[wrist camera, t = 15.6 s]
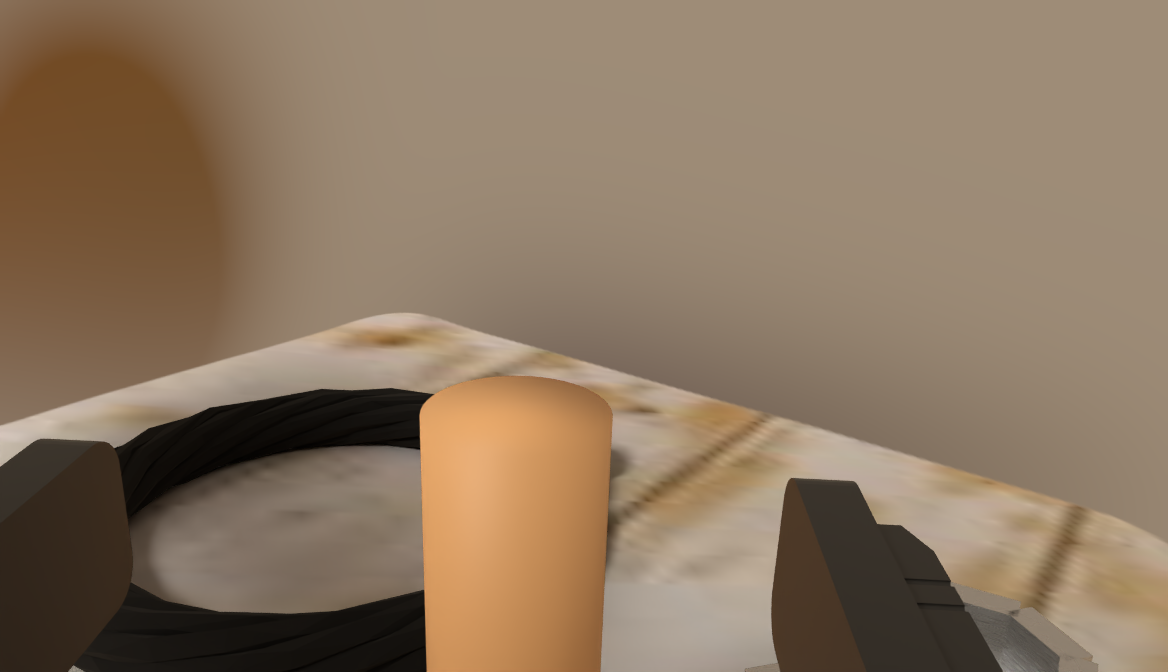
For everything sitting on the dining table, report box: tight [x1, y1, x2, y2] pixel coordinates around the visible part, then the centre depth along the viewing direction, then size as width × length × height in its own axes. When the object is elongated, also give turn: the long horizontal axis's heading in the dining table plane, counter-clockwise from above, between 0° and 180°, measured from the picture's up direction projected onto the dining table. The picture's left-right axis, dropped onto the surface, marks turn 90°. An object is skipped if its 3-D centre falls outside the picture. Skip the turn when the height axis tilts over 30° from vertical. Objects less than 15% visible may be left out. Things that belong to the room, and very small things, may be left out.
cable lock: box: [74, 388, 435, 672], centre depth 49 cm, size 28×4×30 cm
